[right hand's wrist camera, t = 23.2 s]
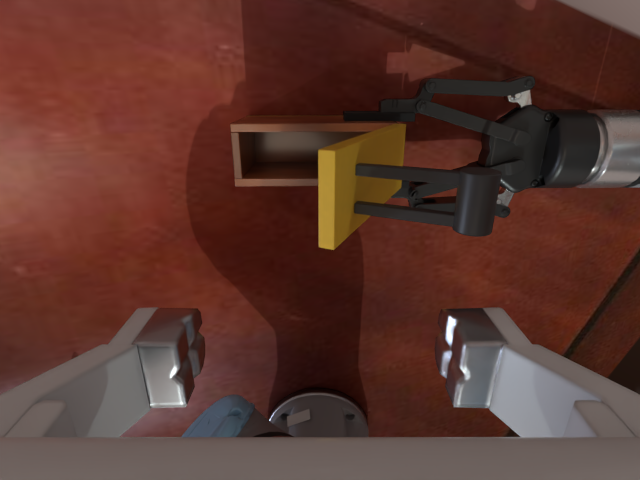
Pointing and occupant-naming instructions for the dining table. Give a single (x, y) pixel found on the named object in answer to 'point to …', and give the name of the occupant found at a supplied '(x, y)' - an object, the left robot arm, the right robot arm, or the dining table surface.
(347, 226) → the lid
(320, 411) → the left robot arm
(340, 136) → the chest
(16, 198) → the dining table surface
